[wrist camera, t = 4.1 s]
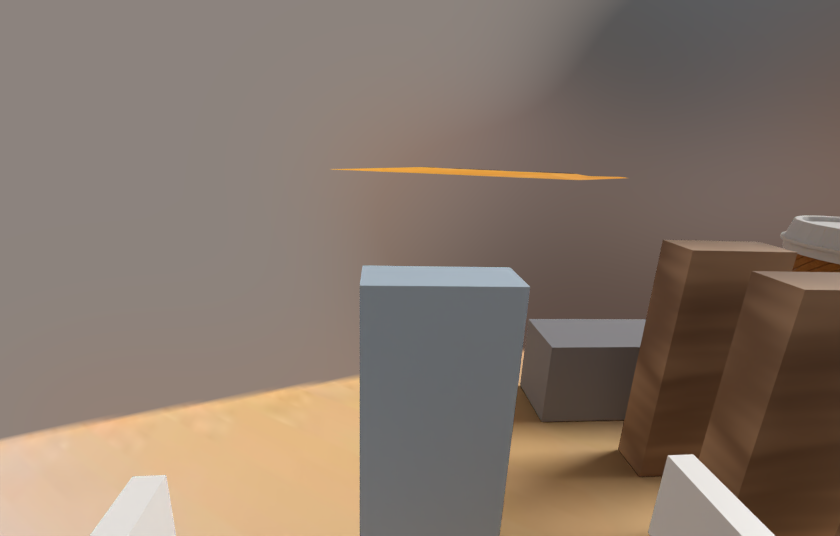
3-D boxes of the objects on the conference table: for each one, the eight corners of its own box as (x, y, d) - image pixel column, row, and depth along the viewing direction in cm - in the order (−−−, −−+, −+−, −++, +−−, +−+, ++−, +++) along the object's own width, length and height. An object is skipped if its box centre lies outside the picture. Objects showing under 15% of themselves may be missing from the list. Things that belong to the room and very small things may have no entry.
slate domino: (493, 586, 16) (529, 286, 12) (360, 594, 15) (359, 285, 12) (481, 538, 18) (510, 267, 14) (362, 544, 17) (362, 265, 14)
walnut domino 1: (728, 473, 22) (797, 252, 19) (639, 476, 22) (692, 250, 18) (701, 446, 24) (758, 242, 20) (618, 449, 23) (663, 239, 20)
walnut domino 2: (825, 565, 17) (942, 291, 14) (713, 572, 17) (805, 290, 13) (781, 522, 19) (873, 272, 16) (679, 528, 19) (751, 271, 15)
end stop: (723, 417, 27) (744, 346, 25) (541, 421, 25) (552, 347, 24) (680, 382, 30) (696, 319, 29) (520, 385, 29) (528, 319, 28)
